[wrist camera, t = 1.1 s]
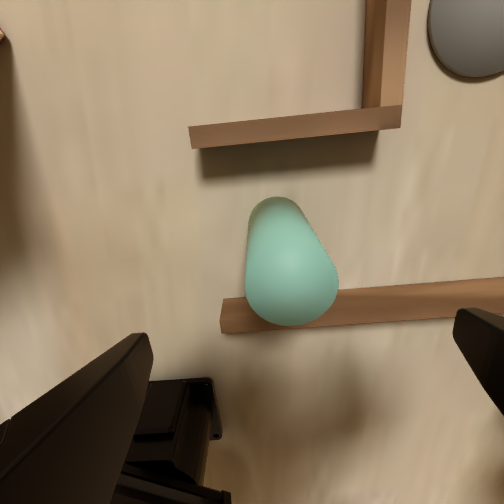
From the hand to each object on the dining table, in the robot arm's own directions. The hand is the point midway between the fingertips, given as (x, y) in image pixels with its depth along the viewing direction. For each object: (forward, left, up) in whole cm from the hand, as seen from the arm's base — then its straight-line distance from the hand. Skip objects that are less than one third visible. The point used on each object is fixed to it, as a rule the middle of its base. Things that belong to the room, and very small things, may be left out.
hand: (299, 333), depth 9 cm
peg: (0, 0, -11) cm, 11 cm away
